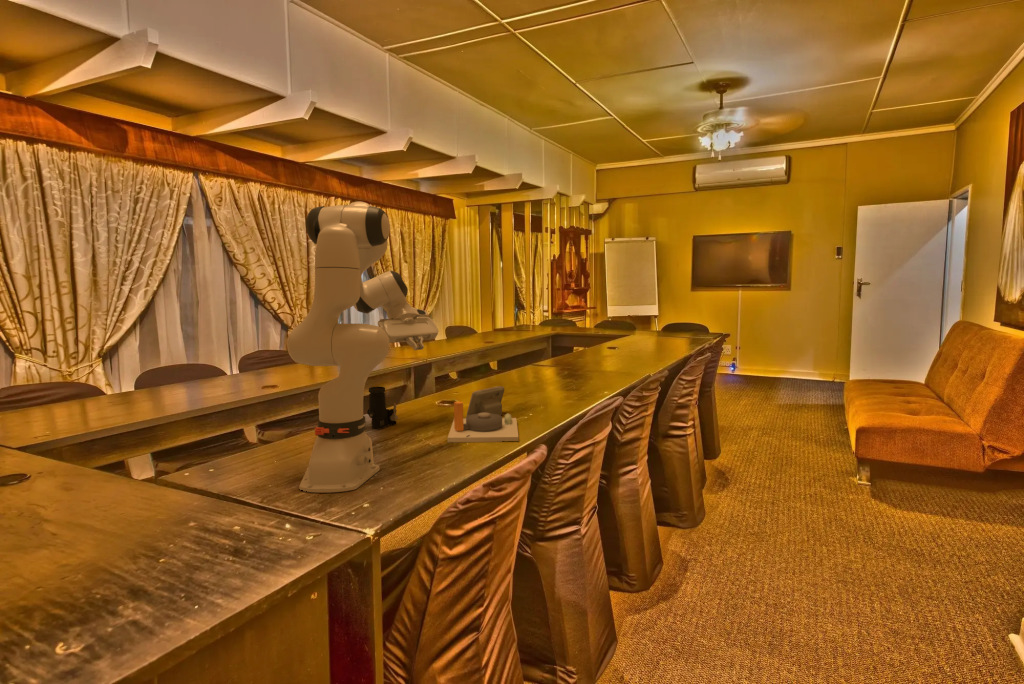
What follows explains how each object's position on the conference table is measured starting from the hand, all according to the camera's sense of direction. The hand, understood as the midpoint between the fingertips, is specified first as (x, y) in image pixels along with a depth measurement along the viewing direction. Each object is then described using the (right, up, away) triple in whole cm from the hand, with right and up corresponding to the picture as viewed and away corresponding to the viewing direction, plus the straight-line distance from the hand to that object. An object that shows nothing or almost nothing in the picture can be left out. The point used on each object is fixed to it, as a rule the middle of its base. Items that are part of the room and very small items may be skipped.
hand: (419, 348), depth 183 cm
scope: (-14, -27, +5) cm, 31 cm away
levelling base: (+22, -28, -1) cm, 35 cm away
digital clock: (+21, -26, +20) cm, 39 cm away
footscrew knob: (+20, -26, -2) cm, 33 cm away
